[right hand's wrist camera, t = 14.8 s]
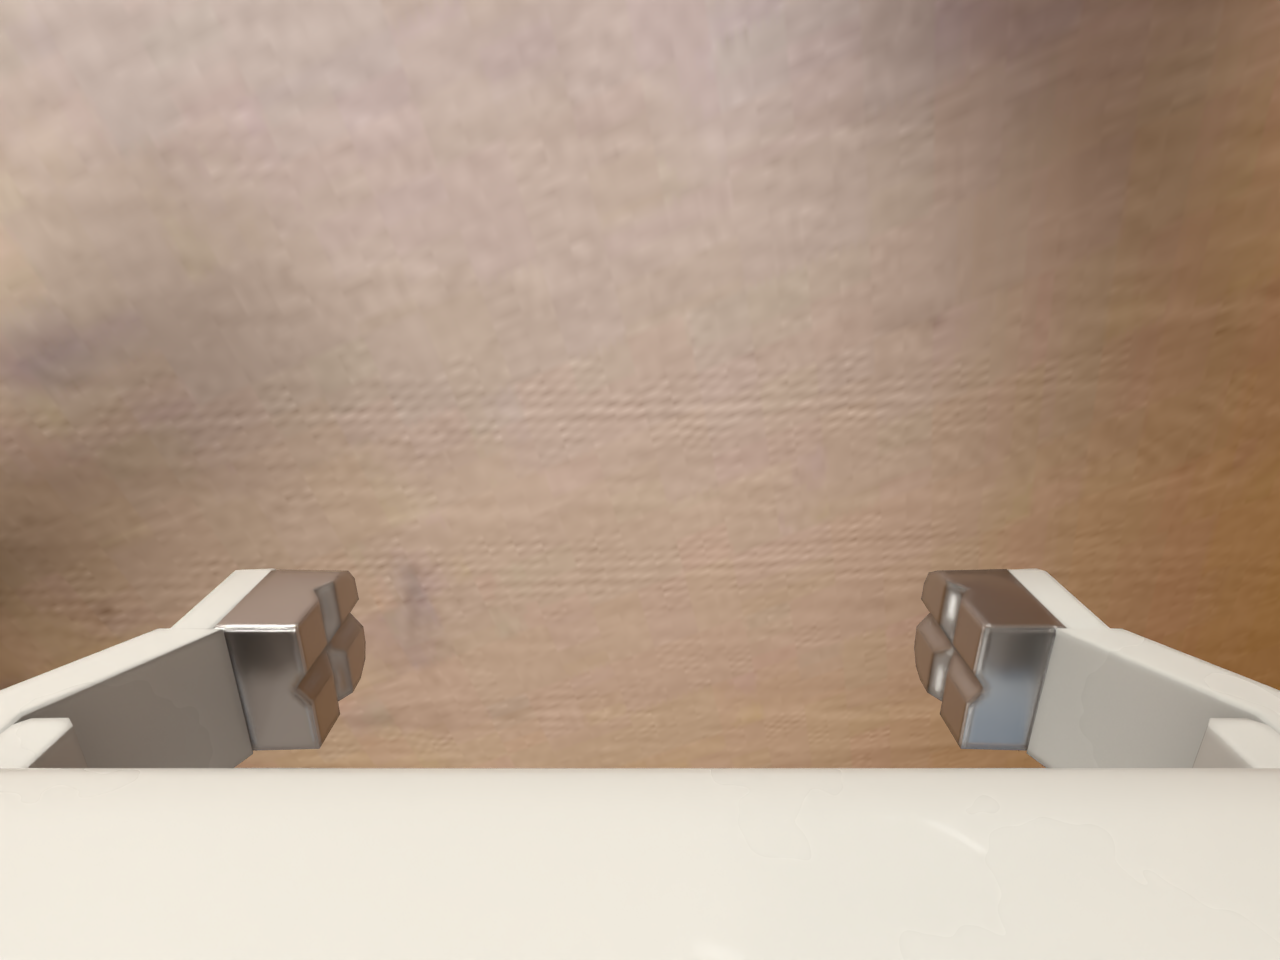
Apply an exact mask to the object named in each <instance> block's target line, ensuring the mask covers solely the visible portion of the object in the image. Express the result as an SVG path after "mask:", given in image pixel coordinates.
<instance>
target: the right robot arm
mask: <svg viewBox="0 0 1280 960" xmlns="http://www.w3.org/2000/svg"><path fill="white" fill-rule="evenodd" d="M358 600H359V598H358V593H357V588H356V583H355V578H354V577H353V576H352V575H351V574H350V572H349V571H337V570H282V569H280V570H277V569H245V570H235V571H234V572H233V573H232V574H231V575H230V576H228V577H227V578H226V579H225V580H224V581H223V582H222V583H221V584H219V585H218V586H217V587H216V588H215V589H214V590H213V591H212V592H211V593H209V594H208V595H207V596H206V597H205V598H204V599H203V600H202V601H200V602H199V603H198V604H197V605H196V606H195V607H194V608H193V609H191V610H190V611H189V612H188V613H187V614H186V615H185V616H184V617H182V618H181V619H180V620H179V621H178V622H177V623H176V624H175V625H173V626H172V627H171V628H170V629H156V630H153V631H151V632H148V633H146V634H143V635H140V636H138V637H135V638H133V639H130V640H128V641H125V642H123V643H120V644H118V645H115V646H112V647H110V648H107V649H105V650H102V651H100V652H97V653H95V654H92V655H89V656H87V657H84V658H82V659H79V660H77V661H74V662H72V663H69V664H66V665H64V666H61V667H59V668H56V669H54V670H51V671H49V672H46V673H43V674H41V675H38V676H36V677H33V678H31V679H28V680H26V681H23V682H20V683H18V684H15V685H13V686H10V687H8V688H5V689H3V690H0V960H1280V690H1277V689H1274V688H1272V687H1269V686H1267V685H1264V684H1262V683H1259V682H1257V681H1254V680H1252V679H1249V678H1246V677H1244V676H1241V675H1239V674H1236V673H1234V672H1231V671H1229V670H1226V669H1224V668H1221V667H1218V666H1216V665H1213V664H1211V663H1208V662H1206V661H1203V660H1201V659H1198V658H1196V657H1193V656H1190V655H1188V654H1185V653H1183V652H1180V651H1178V650H1175V649H1173V648H1170V647H1167V646H1165V645H1162V644H1160V643H1157V642H1155V641H1152V640H1150V639H1147V638H1145V637H1142V636H1139V635H1137V634H1134V633H1132V632H1129V631H1127V630H1124V629H1110V628H1109V627H1108V626H1107V625H1106V624H1104V623H1103V622H1102V621H1101V620H1100V619H1099V618H1098V617H1097V616H1095V615H1094V614H1093V613H1092V612H1091V611H1090V610H1089V609H1088V608H1086V607H1085V606H1084V605H1083V604H1082V603H1081V602H1080V601H1079V600H1078V599H1076V598H1075V597H1074V596H1073V595H1072V594H1071V593H1070V592H1069V591H1067V590H1066V589H1065V588H1064V587H1063V586H1062V585H1061V584H1060V583H1058V582H1057V581H1056V580H1055V579H1054V578H1053V577H1052V576H1051V575H1050V574H1048V573H1047V572H1046V571H1044V570H1040V569H1036V568H1035V569H1013V570H1007V569H990V570H948V571H934V572H929V573H928V576H927V578H926V580H925V582H924V586H923V592H922V598H921V600H922V601H923V603H924V604H925V606H926V607H927V609H928V611H929V612H930V613H929V614H928V615H927V616H926V617H925V618H924V620H923V621H922V622H921V623H920V624H919V625H918V626H917V629H916V637H915V645H914V651H915V662H916V668H917V671H918V674H919V678H920V680H921V682H922V684H923V686H924V688H925V689H926V691H927V693H929V694H931V695H932V696H934V697H936V698H937V699H939V700H941V701H942V705H941V711H940V715H941V717H942V718H943V720H944V722H945V723H946V725H947V727H948V728H949V730H950V732H951V733H952V735H953V737H954V738H955V740H956V742H957V743H958V745H959V747H960V748H961V749H992V750H1027V754H1028V755H1030V756H1031V757H1032V758H1034V759H1035V760H1037V761H1038V762H1039V763H1041V764H1042V765H1043V766H1045V767H1046V768H234V767H235V766H237V765H238V764H240V763H241V762H242V761H244V760H245V759H246V758H248V757H249V756H251V755H252V754H253V750H286V749H320V747H321V745H322V743H323V742H324V740H325V738H326V737H327V735H328V733H329V732H330V730H331V728H332V727H333V725H334V723H335V722H336V720H337V718H338V717H339V715H340V711H339V705H338V701H339V700H341V699H343V698H344V697H346V696H348V695H349V694H351V693H353V691H354V689H355V688H356V686H357V684H358V682H359V680H360V678H361V675H362V670H363V666H364V662H365V643H366V642H365V635H364V628H363V626H362V625H361V624H360V623H359V622H358V621H357V620H356V618H355V617H354V616H353V615H352V614H351V613H350V612H351V611H352V609H353V607H354V606H355V604H356V603H357V601H358Z"/></svg>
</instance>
